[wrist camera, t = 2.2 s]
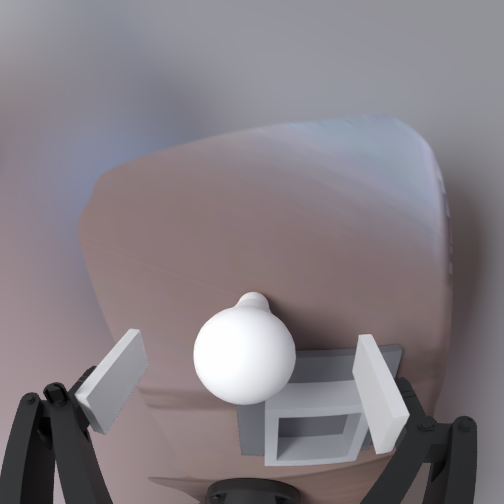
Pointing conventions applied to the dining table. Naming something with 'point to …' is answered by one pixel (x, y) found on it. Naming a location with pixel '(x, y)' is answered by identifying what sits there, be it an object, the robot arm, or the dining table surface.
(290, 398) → the lamp socket
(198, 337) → the lightbulb
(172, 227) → the dining table surface
